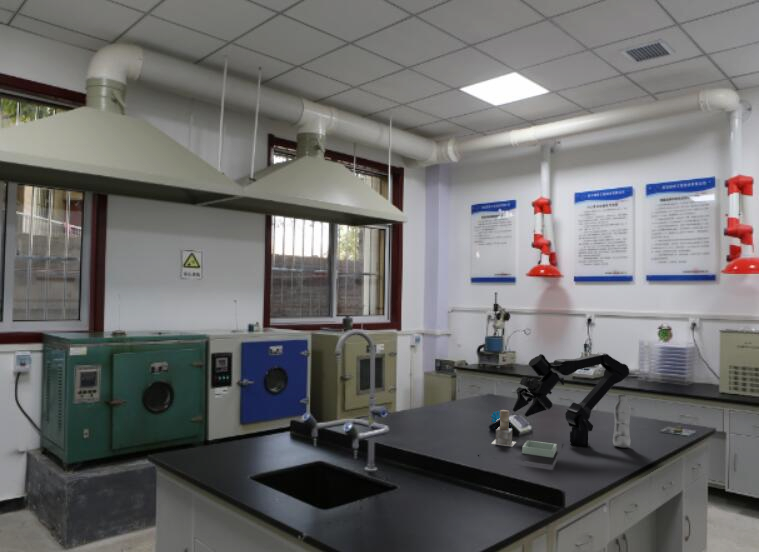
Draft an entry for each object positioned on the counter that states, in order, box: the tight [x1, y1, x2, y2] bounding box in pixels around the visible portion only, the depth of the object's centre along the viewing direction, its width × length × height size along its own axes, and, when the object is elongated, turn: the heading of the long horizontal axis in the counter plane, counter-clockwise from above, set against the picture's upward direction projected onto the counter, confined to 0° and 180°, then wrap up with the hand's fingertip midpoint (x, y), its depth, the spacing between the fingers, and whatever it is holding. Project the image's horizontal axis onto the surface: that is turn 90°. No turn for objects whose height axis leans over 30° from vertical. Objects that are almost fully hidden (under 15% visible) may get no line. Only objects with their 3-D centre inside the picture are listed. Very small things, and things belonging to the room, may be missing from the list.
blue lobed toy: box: [490, 410, 500, 423], centre depth 243 cm, size 11×6×10 cm
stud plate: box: [491, 438, 517, 448], centre depth 213 cm, size 8×8×5 cm
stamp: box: [495, 409, 513, 446], centre depth 214 cm, size 5×5×12 cm
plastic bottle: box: [612, 394, 632, 449], centre depth 220 cm, size 6×7×20 cm
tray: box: [521, 440, 558, 458], centre depth 202 cm, size 11×11×4 cm
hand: (519, 413), depth 215 cm, fingers open, 9 cm apart
